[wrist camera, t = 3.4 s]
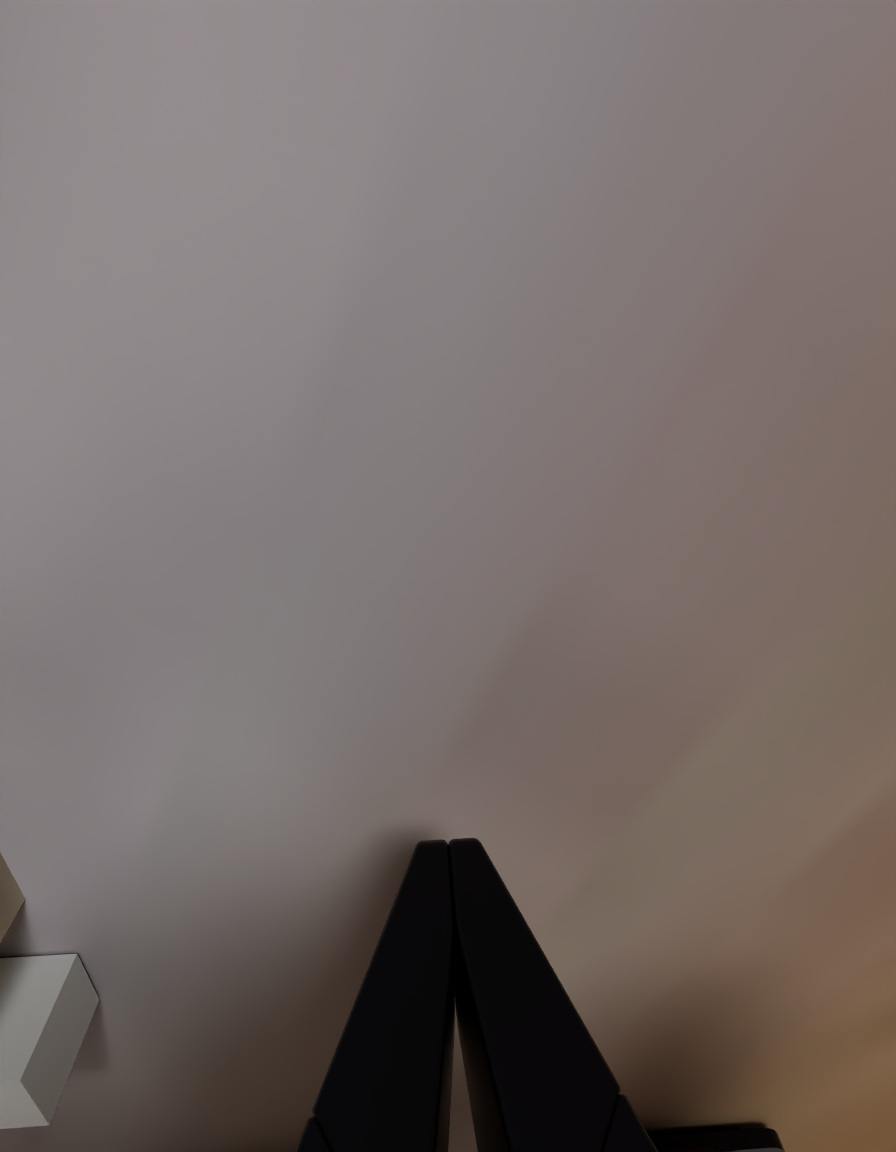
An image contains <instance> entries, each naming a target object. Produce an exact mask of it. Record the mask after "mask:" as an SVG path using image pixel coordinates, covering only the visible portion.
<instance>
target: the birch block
mask: <svg viewBox="0 0 896 1152" xmlns="http://www.w3.org/2000/svg"><path fill="white" fill-rule="evenodd" d="M24 901H25V897H24V895H23V894H22V892H21V890H20V888H19V886H18V884H17V882H16V881H15V879H14V877H13V875H12V873H11V871H10V870H9V868H8V866H7V864H6V862H5V860H4V859H3V857H2V855H1V853H0V943H1V941H2V939H3V938H4V936H5V934H6V932H7V931H8V929H9V927H10V925H11V924H12V922H13V920H14V918H15V917H16V915H17V913H18V911H19V909H20V908H21V906H22V904H23V902H24Z"/></svg>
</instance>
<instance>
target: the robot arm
mask: <svg viewBox="0 0 896 1152" xmlns="http://www.w3.org/2000/svg"><path fill="white" fill-rule="evenodd" d="M455 1005H456V1016H457V1023H458V1031H459V1038H460V1044H461V1050H462V1056H463V1062H464V1069H465V1075H466V1081H467V1087H468V1093H469V1099H470V1106H471V1112H472V1118H473V1124H474V1130H475V1136H476V1142H477V1149H478V1152H785V1151H784V1149H783V1146H782V1144H781V1141H780V1139H779V1137H778V1134H777V1132H776V1131H775V1130H773V1129H770V1128H758V1129H745V1130H732V1131H719V1132H706V1133H694V1134H681V1135H668V1136H655V1137H649V1136H648V1134H647V1132H646V1131H645V1129H644V1127H643V1125H642V1124H641V1122H640V1120H639V1118H638V1117H637V1115H636V1113H635V1111H634V1110H633V1108H632V1106H631V1104H630V1103H629V1101H628V1099H627V1097H626V1096H625V1095H624V1094H621V1095H619V1094H620V1086H619V1084H618V1082H617V1081H616V1079H615V1077H614V1075H613V1074H612V1072H611V1070H610V1068H609V1066H608V1065H607V1063H606V1061H605V1059H604V1058H603V1056H602V1054H601V1052H600V1051H599V1049H598V1047H597V1045H596V1044H595V1042H594V1040H593V1038H592V1037H591V1035H590V1033H589V1031H588V1030H587V1028H586V1026H585V1024H584V1023H583V1021H582V1019H581V1017H580V1016H579V1014H578V1012H577V1010H576V1009H575V1007H574V1005H573V1003H572V1002H571V1000H570V998H569V996H568V995H567V993H566V991H565V989H564V988H563V986H562V984H561V982H560V981H559V979H558V977H557V975H556V974H555V972H554V970H553V968H552V967H551V965H550V963H549V961H548V960H547V958H546V956H545V954H544V953H543V951H542V949H541V947H540V946H539V944H538V942H537V940H536V938H535V937H534V935H533V933H532V931H531V930H530V928H529V926H528V924H527V923H526V921H525V919H524V917H523V916H522V914H521V912H520V910H519V909H518V907H517V905H516V903H515V902H514V900H513V898H512V896H511V895H510V893H509V891H508V889H507V888H506V886H505V884H504V882H503V881H502V879H501V877H500V875H499V874H498V872H497V870H496V868H495V867H494V865H493V863H492V861H491V860H490V858H489V856H488V854H487V853H486V851H485V849H484V847H483V846H482V844H481V843H480V841H479V840H478V839H476V838H463V839H452V840H451V841H450V842H449V844H448V843H447V842H446V841H445V840H426V841H420V842H419V843H418V844H417V845H416V847H415V849H414V852H413V854H412V857H411V860H410V862H409V865H408V867H407V870H406V872H405V875H404V877H403V880H402V882H401V885H400V888H399V890H398V893H397V895H396V898H395V900H394V903H393V905H392V908H391V910H390V913H389V916H388V918H387V921H386V923H385V926H384V928H383V931H382V933H381V936H380V939H379V941H378V944H377V946H376V949H375V951H374V954H373V956H372V959H371V961H370V964H369V967H368V969H367V972H366V974H365V977H364V979H363V982H362V984H361V987H360V989H359V992H358V995H357V997H356V1000H355V1002H354V1005H353V1007H352V1010H351V1012H350V1015H349V1017H348V1020H347V1023H346V1025H345V1028H344V1030H343V1033H342V1035H341V1038H340V1040H339V1043H338V1045H337V1048H336V1051H335V1053H334V1056H333V1058H332V1061H331V1063H330V1066H329V1068H328V1071H327V1073H326V1076H325V1079H324V1081H323V1084H322V1086H321V1089H320V1091H319V1094H318V1096H317V1099H316V1101H315V1104H314V1107H313V1109H312V1113H313V1117H310V1118H309V1119H308V1121H307V1123H306V1126H305V1128H304V1131H303V1134H302V1136H301V1139H300V1141H299V1144H298V1146H297V1149H296V1151H295V1152H448V1143H449V1124H450V1105H451V1086H452V1068H453V1049H454V1025H455Z"/></svg>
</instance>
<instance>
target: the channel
mask: <svg viewBox="0 0 896 1152" xmlns="http://www.w3.org/2000/svg"><path fill="white" fill-rule="evenodd" d="M98 1002H99V998H98V996H97V994H96V991H95V989H94V987H93V985H92V983H91V981H90V979H89V977H88V975H87V973H86V971H85V969H84V967H83V965H82V963H81V960H80V958H79V956H78V954H62V955H46V956H30V957H14V958H0V1129H9V1128H23V1127H37V1126H50V1123H51V1121H52V1118H53V1116H54V1113H55V1111H56V1108H57V1105H58V1103H59V1100H60V1098H61V1095H62V1093H63V1090H64V1088H65V1085H66V1083H67V1080H68V1078H69V1075H70V1073H71V1070H72V1067H73V1065H74V1062H75V1060H76V1057H77V1055H78V1052H79V1050H80V1047H81V1045H82V1042H83V1040H84V1037H85V1035H86V1032H87V1030H88V1027H89V1024H90V1022H91V1019H92V1017H93V1014H94V1012H95V1009H96V1007H97V1004H98Z"/></svg>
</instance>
